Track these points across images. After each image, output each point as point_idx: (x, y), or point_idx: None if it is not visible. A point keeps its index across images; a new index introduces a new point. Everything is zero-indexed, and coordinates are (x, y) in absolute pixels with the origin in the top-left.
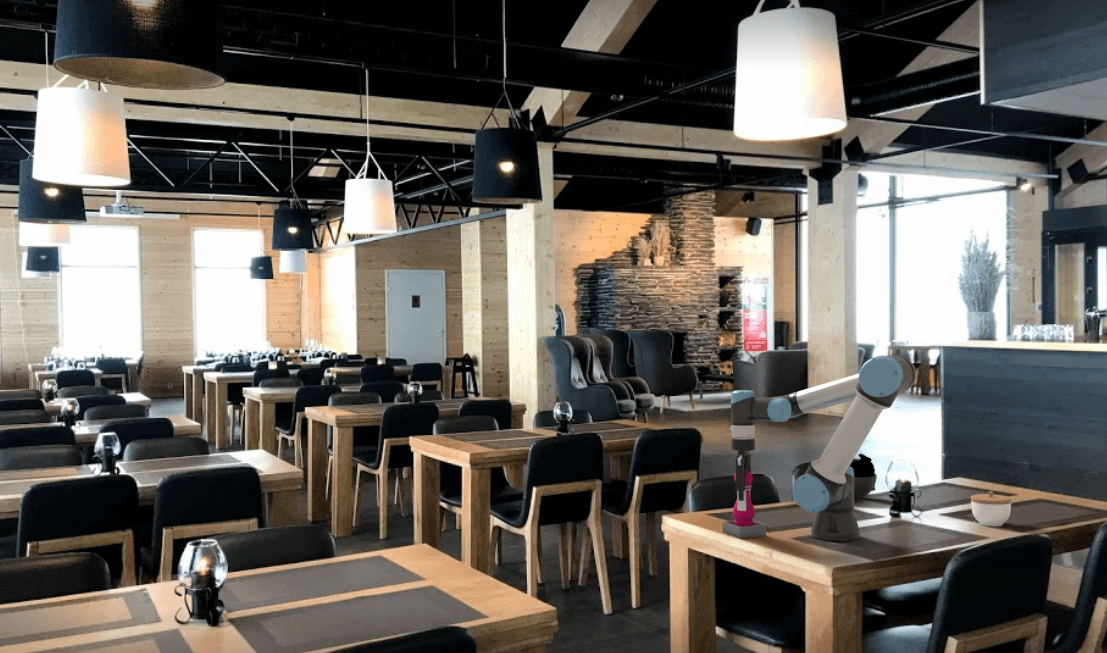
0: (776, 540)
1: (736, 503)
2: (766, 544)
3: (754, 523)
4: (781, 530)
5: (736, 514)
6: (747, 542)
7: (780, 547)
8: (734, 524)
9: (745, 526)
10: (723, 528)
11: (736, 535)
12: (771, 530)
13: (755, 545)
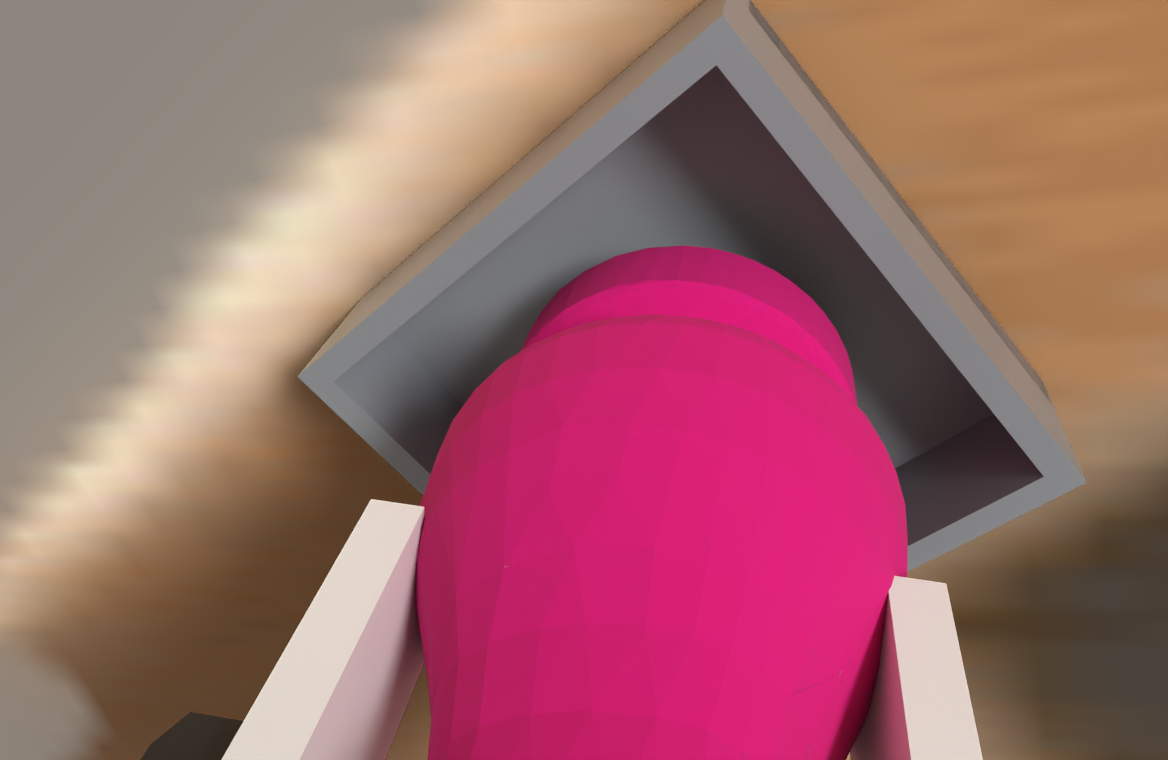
0: (422, 682)
1: (502, 566)
2: (181, 590)
3: None
4: (1026, 754)
5: (459, 417)
6: (177, 403)
7: (119, 698)
8: (627, 263)
9: (410, 457)
10: (700, 13)
11: (411, 260)
12: (1015, 657)
13: (73, 490)
